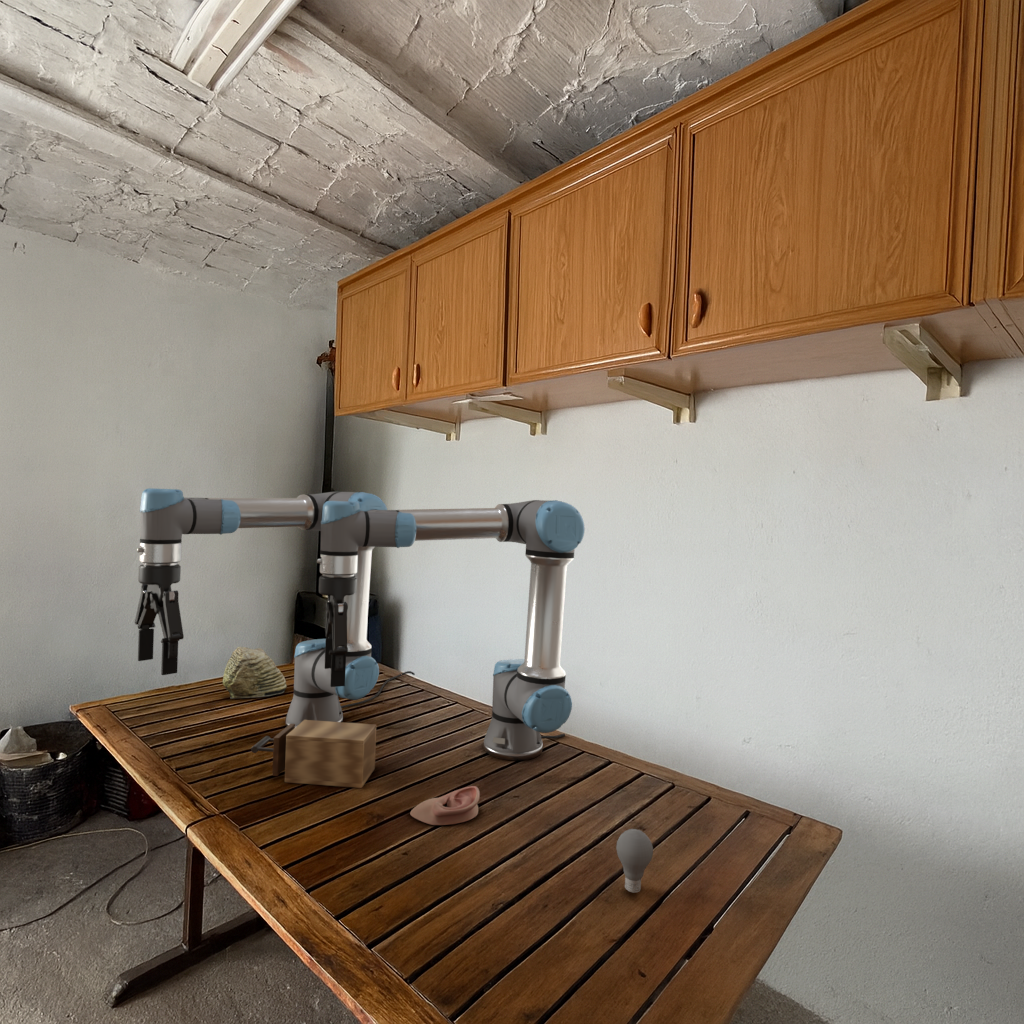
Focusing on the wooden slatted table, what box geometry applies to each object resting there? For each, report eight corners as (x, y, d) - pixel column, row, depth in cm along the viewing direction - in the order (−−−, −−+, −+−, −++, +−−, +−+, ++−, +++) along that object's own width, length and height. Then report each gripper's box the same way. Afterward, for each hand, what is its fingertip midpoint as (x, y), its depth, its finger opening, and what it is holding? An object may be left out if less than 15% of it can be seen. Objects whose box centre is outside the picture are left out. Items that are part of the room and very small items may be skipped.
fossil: (218, 695, 195) (220, 647, 195) (278, 685, 208) (279, 640, 207) (228, 703, 189) (230, 653, 188) (289, 692, 201) (290, 645, 201)
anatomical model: (405, 801, 125) (424, 776, 136) (404, 821, 125) (423, 795, 136) (470, 810, 122) (484, 785, 133) (469, 831, 122) (483, 803, 133)
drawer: (247, 774, 141) (248, 735, 141) (265, 757, 150) (266, 721, 150) (343, 781, 139) (345, 742, 139) (356, 764, 148) (357, 728, 148)
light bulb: (610, 879, 108) (613, 822, 108) (644, 879, 109) (647, 822, 109) (619, 902, 102) (622, 840, 102) (655, 901, 103) (658, 840, 103)
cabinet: (284, 782, 140) (286, 735, 140) (302, 763, 150) (304, 719, 150) (361, 788, 138) (363, 740, 138) (374, 768, 149) (376, 724, 148)
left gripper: (119, 558, 135) (117, 657, 136) (162, 571, 119) (159, 683, 119) (158, 557, 141) (155, 652, 141) (204, 569, 124) (200, 676, 125)
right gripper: (315, 568, 142) (311, 662, 142) (324, 583, 119) (320, 696, 119) (349, 568, 145) (345, 660, 145) (365, 583, 121) (360, 693, 122)
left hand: (156, 666), depth 130 cm, fingers open, 13 cm apart
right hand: (334, 676), depth 132 cm, fingers open, 13 cm apart
